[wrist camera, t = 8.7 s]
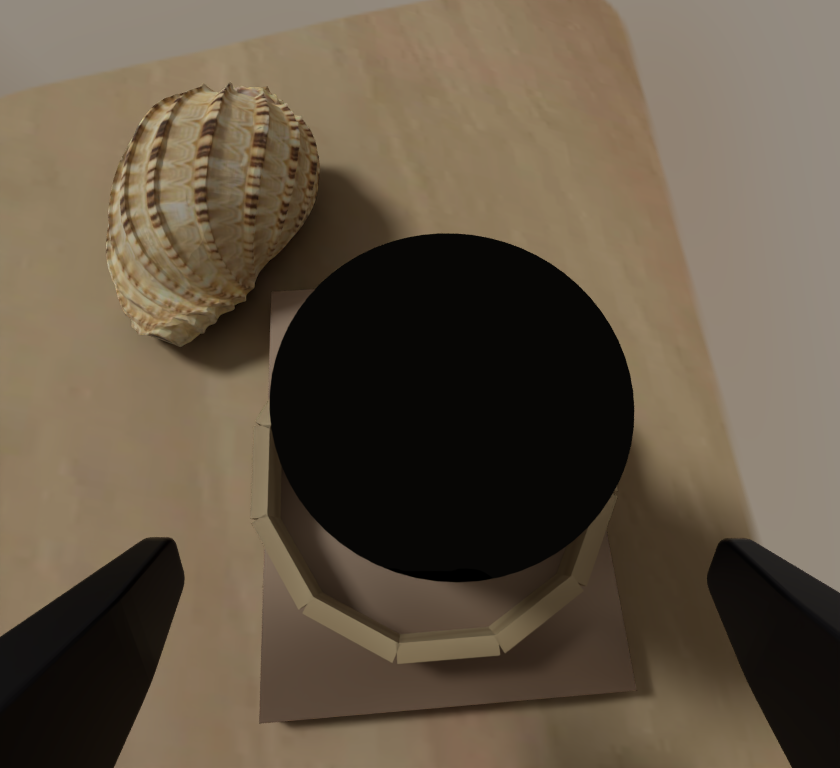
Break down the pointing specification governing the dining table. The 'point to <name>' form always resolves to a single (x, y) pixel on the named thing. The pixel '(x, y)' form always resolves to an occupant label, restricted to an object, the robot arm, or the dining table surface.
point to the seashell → (206, 205)
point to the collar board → (419, 612)
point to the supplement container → (451, 407)
